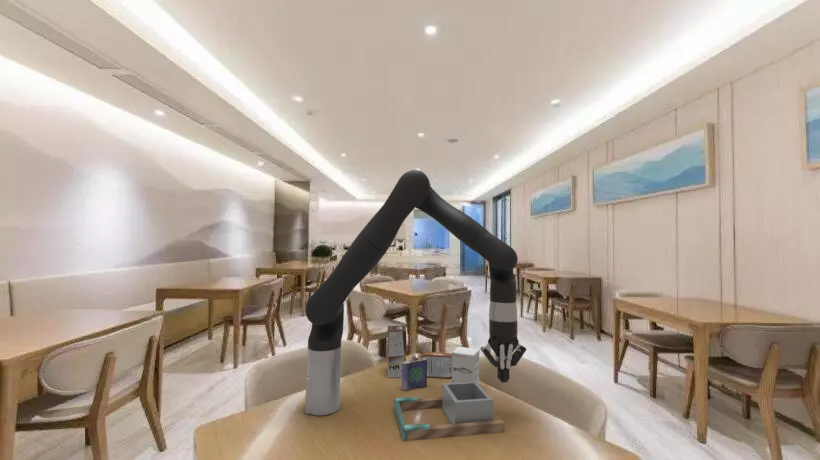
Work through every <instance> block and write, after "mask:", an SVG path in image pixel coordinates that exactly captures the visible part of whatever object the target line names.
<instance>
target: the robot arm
mask: <svg viewBox="0 0 820 460" xmlns="http://www.w3.org/2000/svg"><path fill="white" fill-rule="evenodd" d="M415 208H416V209H417V210H419V211H421V212H423V213H425V214H426V215H428V216H429V217H430V218H432V219H433V220H435V221H436V222H437V223H439V224H440V225H441V226H442V227H444V228H445V230H447V231H448V232H449V233H450V234H452V235H453V236H454V237H455V238H457V239H458V240H459V241H460V242H461V243H462V244H464V245H465V246H466V247H468V248H469V249H471V250H472V251H474V252H476V253H477V254H479V255H480V256H481V257H482V258H483V259H485V260H486V261H487V262H488V271H489V279H490V280H489V282H490V286H489V306H488V307H489V308H488V309H489V310H488V317H489V319H488V326H489V327H488V329H489V330H488V331H489V333H488V335H489V337H488V340H487V344H485V346H481V347H480V351H481V353H482V354H483V355H484V356H485V357H486V359H487V360H488V361H489V363H490V364H491V365H492V366H494V367H495V368H497V379H498V380H499V381H500V383H502V384H503V383H509V381H510V369H511V367H515V366H517V365H518V363H519V362H520V360H521V359H522V357H523V356H524V354H525V353H526V352H527V347H525V346H523V345H522V344H520V341H519V338H518V306H517V285H516V282H515V280H514V269H515V267H516V266H517V264H518V262H519V261H518V260H519V259H518V257H519V256H518V255H517V252H516V251H515V249H514V248H513V247H511V246H510V245H508V244H507V243H506V242H504V241H503V240H501V239H500V238H498V237H497V236H496V235H494V234H492V233H491V232H490V231H489V230H488V229H487V228H485V227H484V226H483V225H482V224H480V222H478V221H476V220H475V219H474V218H472V217H471V216H470V215H468V214H467V213H465V212H463V211H462V210H461V209H460V210H459V209H458V208H457V207H455V206H454V205H452V204H451V203H449V202H447V201H446V200H445V199H444V198H442V197H441V196H440V195H439V194H438V192H436V191H435V189H433V187H432V186H431V182H430V179H429V177H428V175H427V174H425V173H424V172H423V171H422V170H418V169H411V170H409V171H406V172H404V173H403V174H402V175H401V177H399V179H398V180H397V183H396V184H395V185H394V188H393V189H392V190H391V193H390V194H389V195H388V197H387V198H386V200H385V202H384V203H383V205H382V206H381V207H380V208H379V209H378V211H377V212H376V213H375V214H374V215H373V216H372V217H371V219H370V220H369V221H368V222H367V223H366V225H365V226H364V227H363V228H362V230H361V231H360V232H359V233H358V234H357V236H356V237H355V238H354V240H353V241H352V243H350V246H349V247H348V248H347V250H346V251H345V253H344V254H343V256H342V257H341V259H340V260H339V262H338V264H337V265H336V267H335V268H334V269H333V270H332V273H331V274H330V275H329V276H328V277H327V278H326V280H325V281H323V283H322V284H321V285H320V286H319V287H318V288H317V289H316V290H315V291H314V292H313V293H312V294H311V296H309V298H308V299H307V302H306V304H305V307H304V308H305V317H306V318H307V320H308V321H309V323H311V330H310V333H309V335H308V338H307V374H306V378H305V414H306V415H312V416H328V415H331V414H334V413H336V412H338V411H339V410H340V408H341V381H342V380H341V377H342V375H341V373H342V372H341V371H342V370H341V369H342V340H343V333H344V317H345V306H344V305H345V302H346V300H347V298H348V297H349V295H350V294H351V293H352V291H353V290H354V289H355V288H356V286H357V285H359V283H361V282H362V281H363V280H364V279H365V277H367V275H369V273H371V272H372V270H373V269H374V268H375V267H376V266H377V265H378V264H379V262H380V261H381V260H382V259H383V257H384V256H385V254H386V253H387V252H388V250H389V249H390V247H391V246H392V244H393V242H394V241H395V238H396V237H397V234H398V233H399V231H400V229H401V227H402V225H403V223H404V222H405V220H406V219H407V218H408V216H410V214H411V213H412V211H414V209H415ZM492 352H493V353H494V355H495V356H493V355H492V354H491V353H492ZM494 357H495V358H494Z"/></svg>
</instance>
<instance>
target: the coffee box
mask: <svg viewBox="0 0 820 460" xmlns="http://www.w3.org/2000/svg"><path fill="white" fill-rule="evenodd" d="M386 350H387V352H386V353H387V361H386V362H387V363H386V364H387V367H386V368H387V369H386V370H387V378H389V379H390V378H402V362H404V361H407V360H406V359H407V357H406V356H407V330H406V327H405V325H400V324H399V325H387V349H386Z"/></svg>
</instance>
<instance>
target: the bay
mask: <svg viewBox="0 0 820 460" xmlns="http://www.w3.org/2000/svg"><path fill="white" fill-rule="evenodd" d="M393 402H394V403H393V409H394V410H393V411H394V412H395V416H396V421H397V424H398V428H399V431H400V435H401V437H402V442H409V441H417V440H419V441H420V440H430V439H441V438H443V439H444V438H450V437H451V438H452V437H465V436H475V435H485V434H500V433H505V422H504V420H502V419H496V420H494V419H493V421H482V422H470V423H457V424H451V423H450V424H449V423H448V424H436V425H434V424H433V425H430V424H429V422H428V423H415V424H407V423H406V420H405V417H404V413H403V411H413V410H414V411H416V410H428V409H429V410H430V409H441V408H442V396H440V397H427V398H426V397H425V398H418V397H417V396H411V397H409V396H408V397H407V396H406V397H396V398H394V399H393Z"/></svg>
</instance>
